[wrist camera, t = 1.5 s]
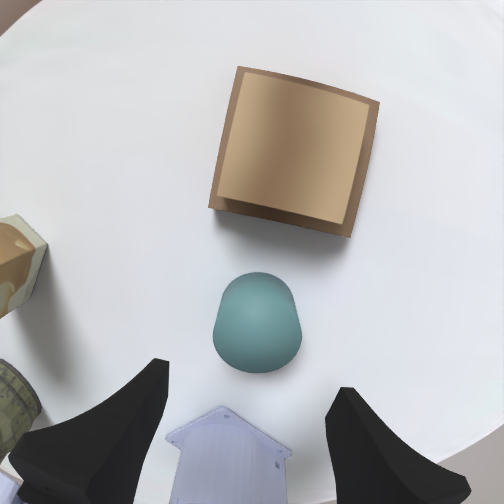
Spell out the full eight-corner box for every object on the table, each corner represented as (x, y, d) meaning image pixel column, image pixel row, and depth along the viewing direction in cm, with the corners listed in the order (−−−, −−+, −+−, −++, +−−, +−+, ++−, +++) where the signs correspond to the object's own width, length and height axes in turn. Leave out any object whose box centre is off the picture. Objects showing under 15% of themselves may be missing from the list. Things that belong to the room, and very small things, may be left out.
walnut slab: (365, 108, 16) (379, 102, 14) (339, 228, 19) (350, 237, 16) (240, 77, 16) (237, 65, 14) (214, 202, 18) (208, 207, 16)
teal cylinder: (308, 308, 20) (319, 341, 16) (254, 348, 20) (253, 385, 17) (261, 257, 19) (262, 281, 15) (205, 302, 20) (194, 334, 16)
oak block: (355, 112, 14) (369, 105, 12) (331, 216, 16) (342, 224, 14) (246, 84, 14) (244, 72, 12) (222, 191, 16) (216, 195, 14)
